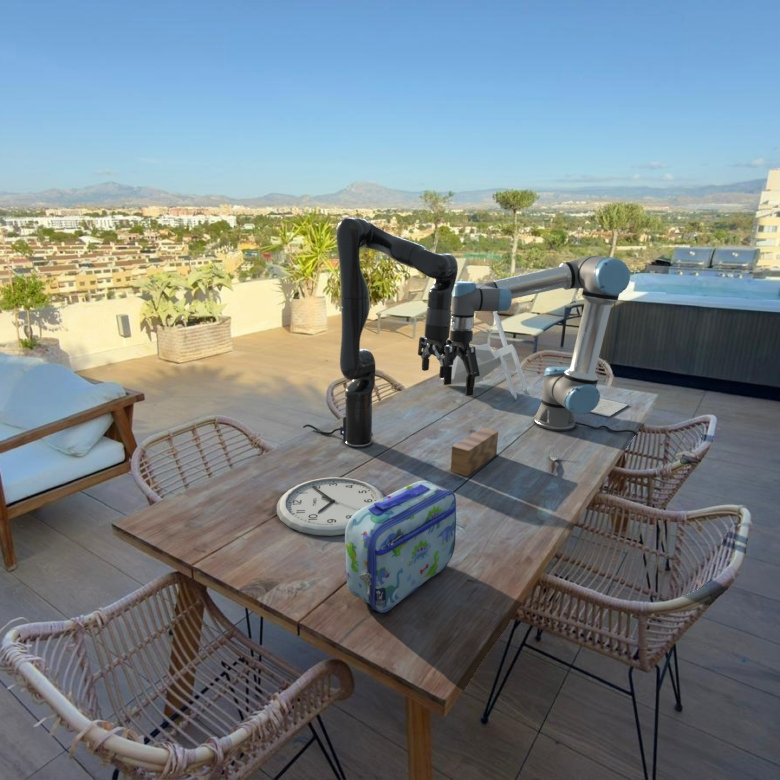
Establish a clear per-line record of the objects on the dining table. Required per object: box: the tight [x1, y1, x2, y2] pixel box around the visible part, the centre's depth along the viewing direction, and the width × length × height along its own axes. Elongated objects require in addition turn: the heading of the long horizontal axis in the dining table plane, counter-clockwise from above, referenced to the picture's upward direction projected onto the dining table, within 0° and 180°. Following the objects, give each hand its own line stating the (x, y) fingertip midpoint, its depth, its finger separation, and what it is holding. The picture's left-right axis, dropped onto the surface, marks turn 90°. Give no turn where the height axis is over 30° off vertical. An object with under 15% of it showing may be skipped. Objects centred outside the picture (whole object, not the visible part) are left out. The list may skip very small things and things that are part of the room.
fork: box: [549, 449, 560, 474], centre depth 170 cm, size 3×16×2 cm, turn 160°
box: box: [450, 427, 499, 477], centre depth 169 cm, size 21×6×8 cm, turn 143°
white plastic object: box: [438, 311, 531, 400], centre depth 245 cm, size 37×45×31 cm
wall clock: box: [276, 476, 386, 537], centre depth 142 cm, size 30×2×30 cm
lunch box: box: [344, 480, 457, 614], centre depth 109 cm, size 26×11×21 cm, turn 135°
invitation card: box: [589, 397, 629, 418], centre depth 226 cm, size 21×1×15 cm
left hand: (433, 373), depth 162 cm, fingers open, 8 cm apart
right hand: (457, 389), depth 181 cm, fingers open, 13 cm apart
